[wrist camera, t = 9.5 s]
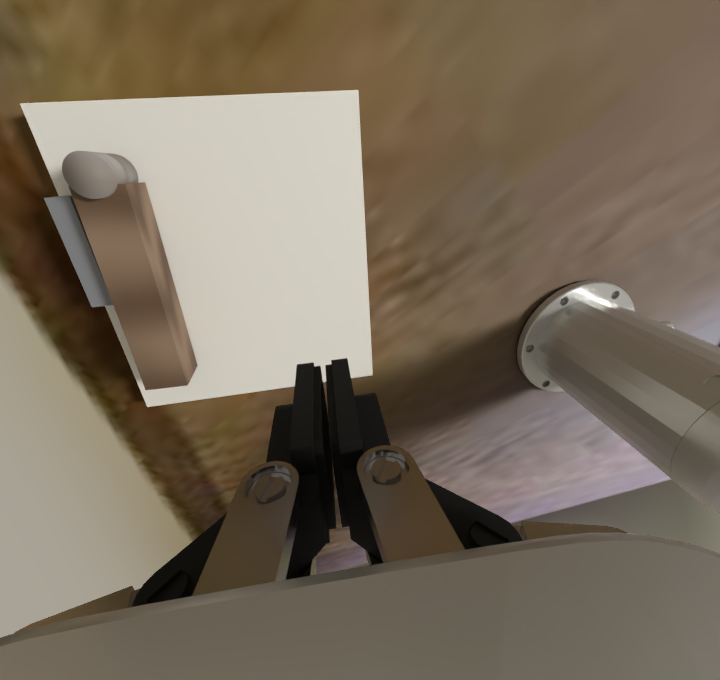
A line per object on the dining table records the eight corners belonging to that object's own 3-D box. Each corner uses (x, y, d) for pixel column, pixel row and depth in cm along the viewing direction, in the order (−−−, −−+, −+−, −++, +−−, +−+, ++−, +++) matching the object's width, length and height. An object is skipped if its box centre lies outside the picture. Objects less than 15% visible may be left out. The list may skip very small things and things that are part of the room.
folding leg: (85, 154, 21) (47, 151, 18) (136, 152, 22) (109, 149, 19) (159, 369, 28) (142, 395, 25) (197, 365, 29) (185, 390, 26)
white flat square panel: (353, 95, 24) (363, 83, 21) (368, 364, 34) (377, 387, 31) (42, 108, 22) (-7, 96, 18) (155, 393, 32) (137, 421, 28)
